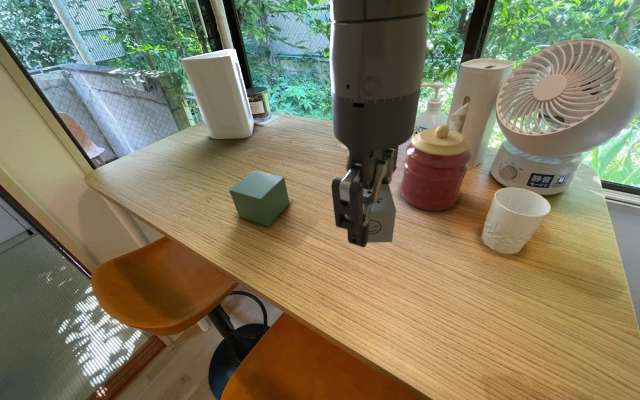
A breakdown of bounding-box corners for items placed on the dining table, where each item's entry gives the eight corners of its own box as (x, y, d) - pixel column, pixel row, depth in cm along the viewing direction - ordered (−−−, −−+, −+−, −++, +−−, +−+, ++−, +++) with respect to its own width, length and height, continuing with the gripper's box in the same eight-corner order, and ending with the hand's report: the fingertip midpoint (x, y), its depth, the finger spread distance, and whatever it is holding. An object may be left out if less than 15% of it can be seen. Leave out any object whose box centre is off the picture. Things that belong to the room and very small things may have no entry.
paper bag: (227, 145, 95) (198, 61, 77) (209, 136, 103) (179, 59, 86) (268, 128, 104) (250, 50, 87) (248, 120, 113) (229, 48, 96)
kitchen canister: (433, 175, 68) (448, 109, 57) (470, 203, 58) (496, 130, 47) (390, 187, 66) (397, 120, 55) (420, 218, 56) (437, 145, 45)
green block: (268, 226, 58) (260, 199, 53) (239, 216, 62) (228, 190, 57) (289, 203, 64) (284, 176, 59) (261, 195, 68) (254, 169, 63)
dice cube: (349, 243, 31) (349, 211, 28) (348, 215, 35) (347, 185, 31) (391, 242, 30) (396, 210, 27) (385, 214, 34) (388, 183, 31)
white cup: (517, 229, 51) (539, 189, 45) (532, 260, 45) (560, 218, 39) (473, 224, 53) (489, 185, 47) (482, 253, 47) (501, 213, 41)
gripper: (363, 64, 28) (361, 186, 38) (292, 106, 18) (314, 254, 29) (435, 64, 25) (412, 198, 35) (395, 115, 15) (379, 279, 25)
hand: (368, 223), depth 32 cm, fingers closed on dice cube, 6 cm apart
